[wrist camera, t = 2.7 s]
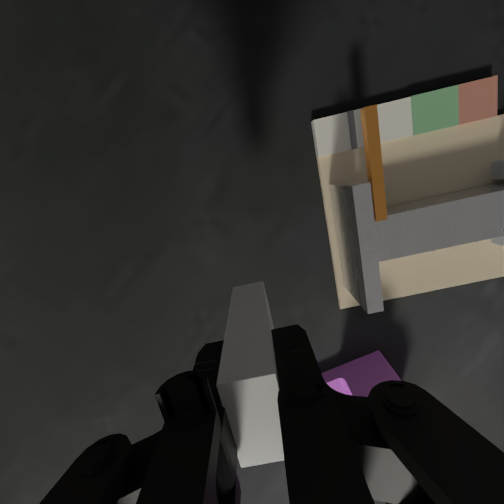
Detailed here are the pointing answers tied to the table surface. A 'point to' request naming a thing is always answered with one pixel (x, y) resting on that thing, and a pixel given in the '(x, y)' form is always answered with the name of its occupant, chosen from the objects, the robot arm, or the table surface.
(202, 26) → the table surface
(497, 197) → the grey sliding clamp
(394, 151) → the beige mechanism board
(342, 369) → the bracket
